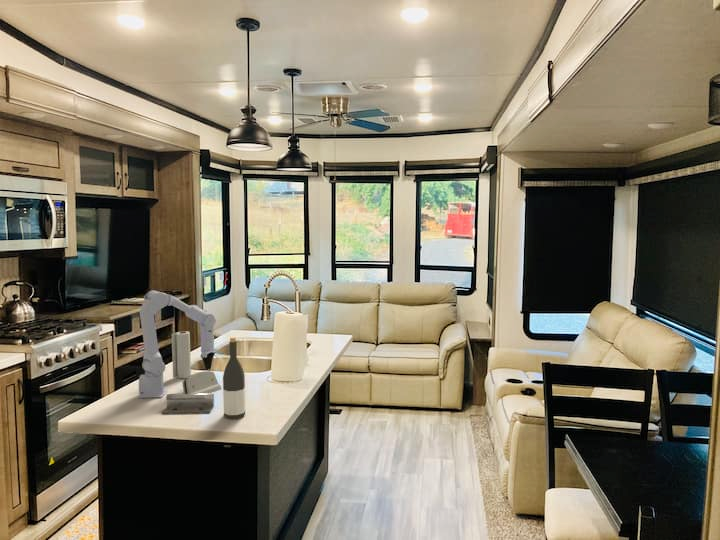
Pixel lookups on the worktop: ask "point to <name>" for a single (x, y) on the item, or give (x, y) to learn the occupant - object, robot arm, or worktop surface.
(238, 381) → the wine bottle
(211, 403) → the fixed leaf
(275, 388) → the worktop surface
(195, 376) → the beige piece
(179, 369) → the paper towel roll
